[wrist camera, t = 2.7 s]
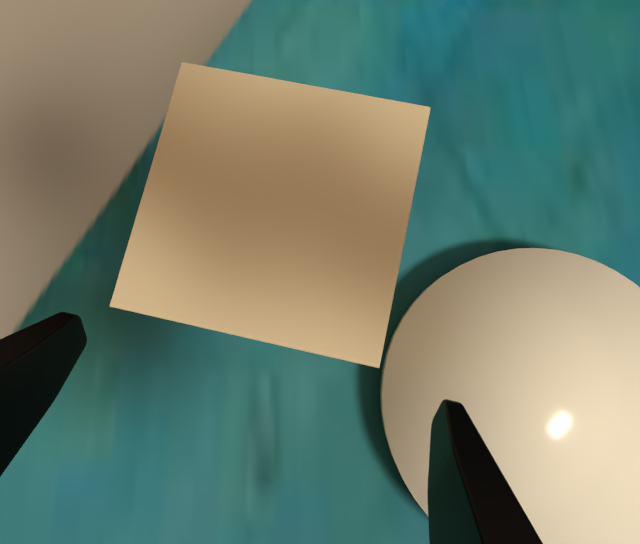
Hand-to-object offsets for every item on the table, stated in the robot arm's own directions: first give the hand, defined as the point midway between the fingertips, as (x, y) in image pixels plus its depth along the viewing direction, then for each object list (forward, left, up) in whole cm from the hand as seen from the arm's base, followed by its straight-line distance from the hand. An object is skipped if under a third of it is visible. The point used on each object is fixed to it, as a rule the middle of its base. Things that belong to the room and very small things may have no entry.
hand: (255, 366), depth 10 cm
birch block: (+3, +1, -10) cm, 11 cm away
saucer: (+4, -10, -10) cm, 15 cm away
